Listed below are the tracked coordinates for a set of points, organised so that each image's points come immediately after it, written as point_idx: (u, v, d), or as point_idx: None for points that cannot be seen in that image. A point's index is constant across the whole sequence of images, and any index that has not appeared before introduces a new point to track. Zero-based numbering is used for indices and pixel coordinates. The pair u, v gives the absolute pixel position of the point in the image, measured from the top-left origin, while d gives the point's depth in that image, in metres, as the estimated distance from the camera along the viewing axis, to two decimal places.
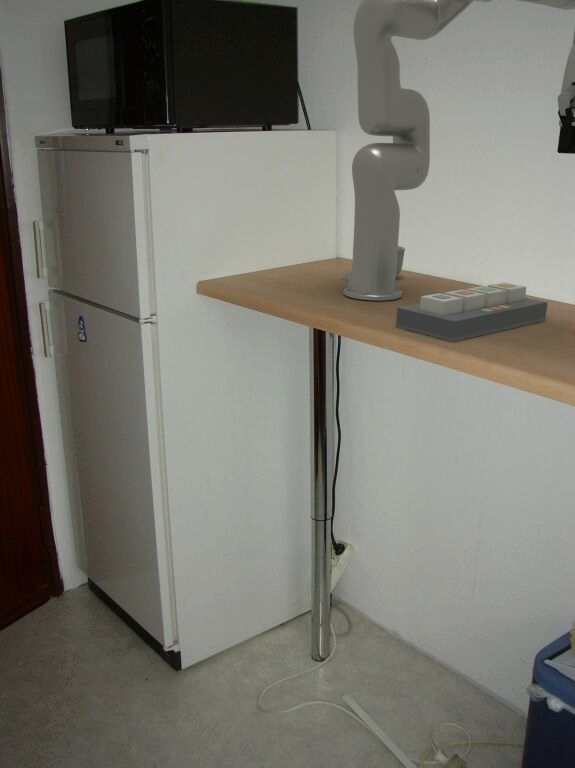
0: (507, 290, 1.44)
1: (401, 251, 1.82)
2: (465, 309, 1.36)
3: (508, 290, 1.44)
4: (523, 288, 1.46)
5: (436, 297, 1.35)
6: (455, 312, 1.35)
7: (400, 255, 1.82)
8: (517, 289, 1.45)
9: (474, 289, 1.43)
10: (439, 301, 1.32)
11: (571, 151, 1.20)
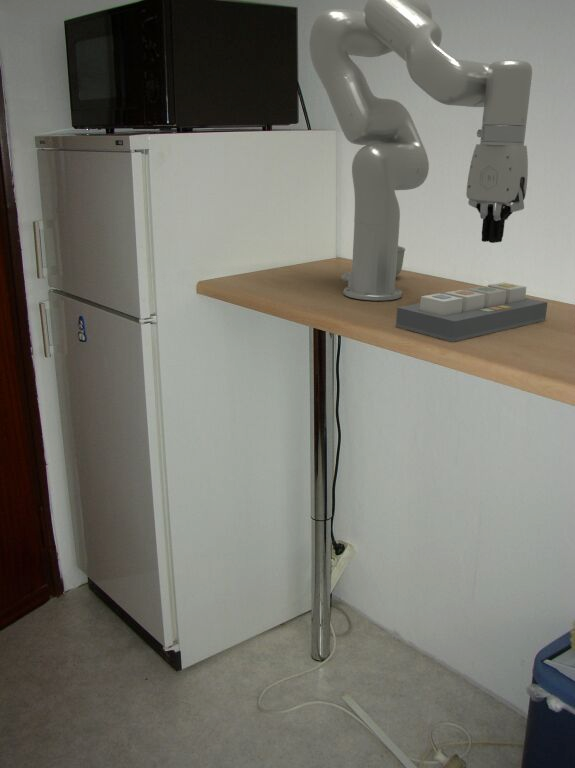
0: (507, 290, 1.44)
1: (401, 251, 1.82)
2: (465, 309, 1.36)
3: (508, 290, 1.44)
4: (523, 288, 1.46)
5: (436, 297, 1.35)
6: (455, 312, 1.35)
7: (400, 255, 1.82)
8: (517, 289, 1.45)
9: (474, 289, 1.43)
10: (439, 301, 1.32)
11: (499, 240, 1.40)
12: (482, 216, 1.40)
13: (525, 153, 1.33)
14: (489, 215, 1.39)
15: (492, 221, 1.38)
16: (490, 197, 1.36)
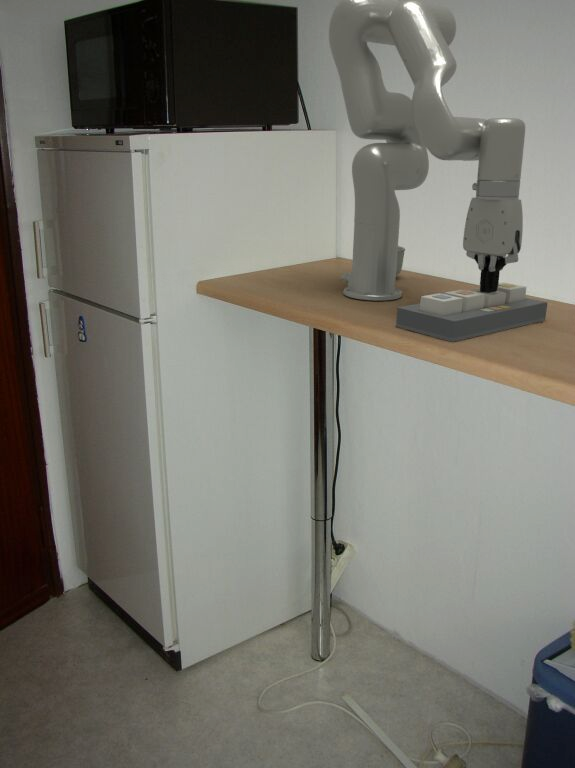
0: (507, 290, 1.44)
1: (401, 251, 1.82)
2: (465, 309, 1.36)
3: (508, 290, 1.44)
4: (523, 288, 1.46)
5: (436, 297, 1.35)
6: (455, 312, 1.35)
7: (400, 255, 1.82)
8: (517, 289, 1.45)
9: (474, 291, 1.43)
10: (439, 301, 1.32)
11: (494, 290, 1.43)
12: (480, 267, 1.42)
13: (520, 207, 1.35)
14: (487, 266, 1.42)
15: (487, 272, 1.40)
16: (486, 250, 1.38)
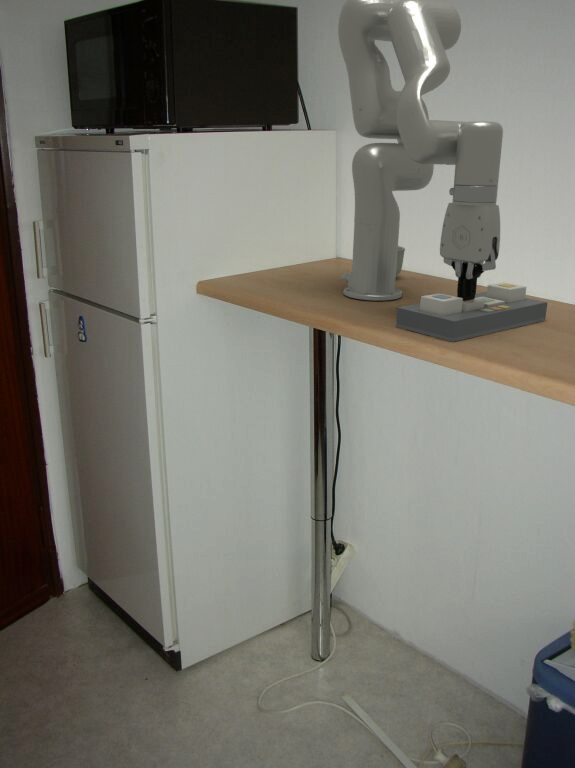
0: (507, 290, 1.44)
1: (401, 251, 1.82)
2: None
3: (508, 290, 1.44)
4: (523, 288, 1.46)
5: (436, 297, 1.35)
6: (455, 312, 1.35)
7: (400, 255, 1.82)
8: (517, 289, 1.45)
9: None
10: (439, 301, 1.32)
11: (472, 297, 1.39)
12: (457, 274, 1.38)
13: (497, 213, 1.32)
14: (464, 273, 1.38)
15: (464, 279, 1.37)
16: (463, 256, 1.34)
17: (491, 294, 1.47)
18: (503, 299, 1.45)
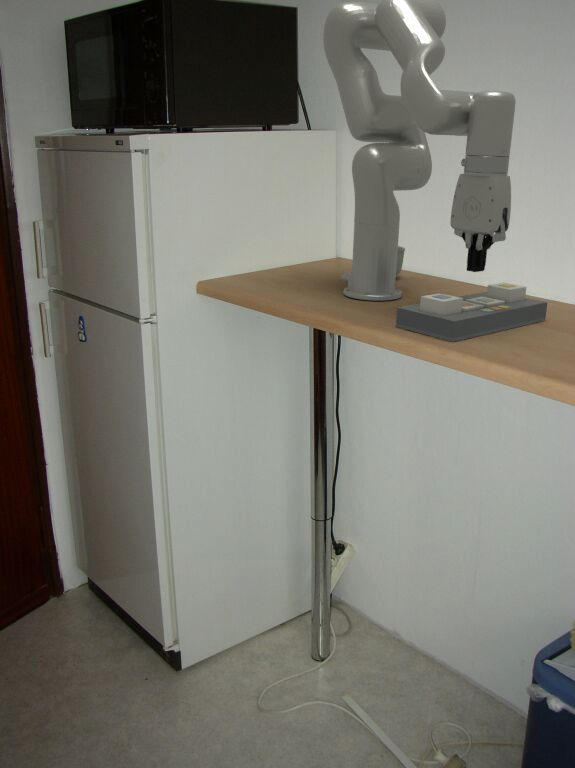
0: (507, 290, 1.44)
1: (401, 251, 1.82)
2: None
3: (508, 290, 1.44)
4: (523, 288, 1.46)
5: (436, 297, 1.35)
6: (455, 312, 1.35)
7: (400, 255, 1.82)
8: (517, 289, 1.45)
9: (473, 300, 1.44)
10: (439, 301, 1.32)
11: (482, 269, 1.39)
12: (467, 245, 1.39)
13: (508, 184, 1.32)
14: (474, 244, 1.38)
15: (474, 250, 1.37)
16: (473, 227, 1.35)
17: (491, 294, 1.47)
18: (503, 299, 1.45)
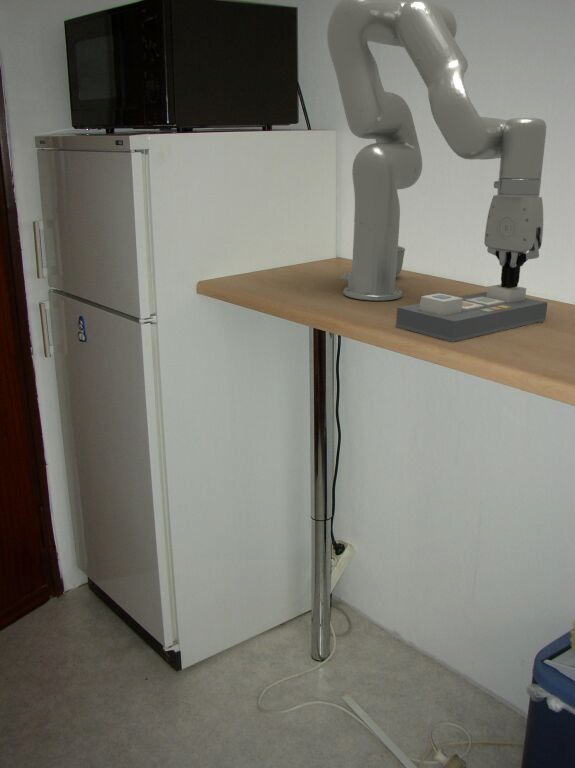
0: (507, 291, 1.44)
1: (401, 251, 1.82)
2: None
3: (508, 291, 1.44)
4: (523, 289, 1.46)
5: (436, 297, 1.35)
6: (455, 312, 1.35)
7: (400, 255, 1.82)
8: (517, 290, 1.45)
9: (473, 300, 1.44)
10: (439, 301, 1.32)
11: (515, 285, 1.47)
12: (501, 263, 1.46)
13: (541, 205, 1.39)
14: (508, 262, 1.46)
15: (508, 268, 1.44)
16: (508, 246, 1.42)
17: (491, 296, 1.47)
18: (503, 300, 1.45)
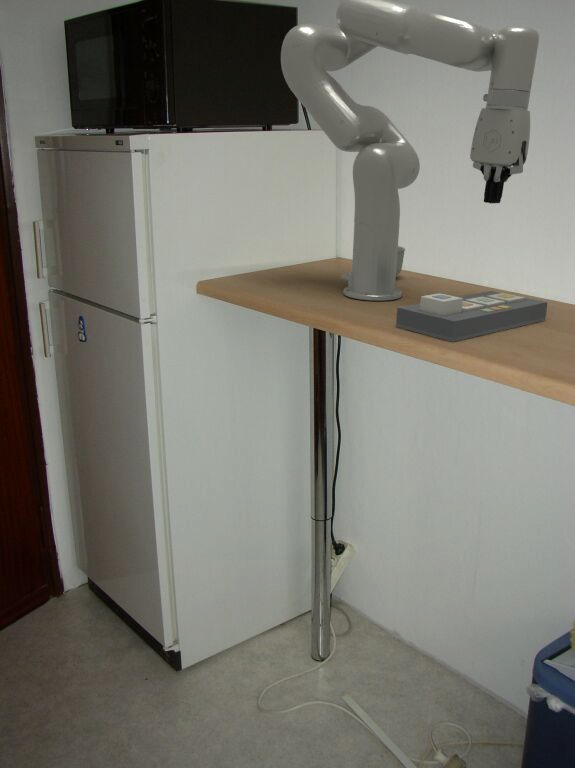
0: (506, 301, 1.45)
1: (401, 251, 1.82)
2: None
3: (507, 301, 1.45)
4: (522, 299, 1.47)
5: (436, 297, 1.35)
6: (455, 312, 1.35)
7: (400, 255, 1.82)
8: (516, 300, 1.46)
9: (473, 300, 1.44)
10: (439, 301, 1.32)
11: (498, 201, 1.47)
12: (485, 178, 1.46)
13: (528, 118, 1.39)
14: (492, 177, 1.45)
15: (492, 182, 1.44)
16: (492, 159, 1.42)
17: None
18: None
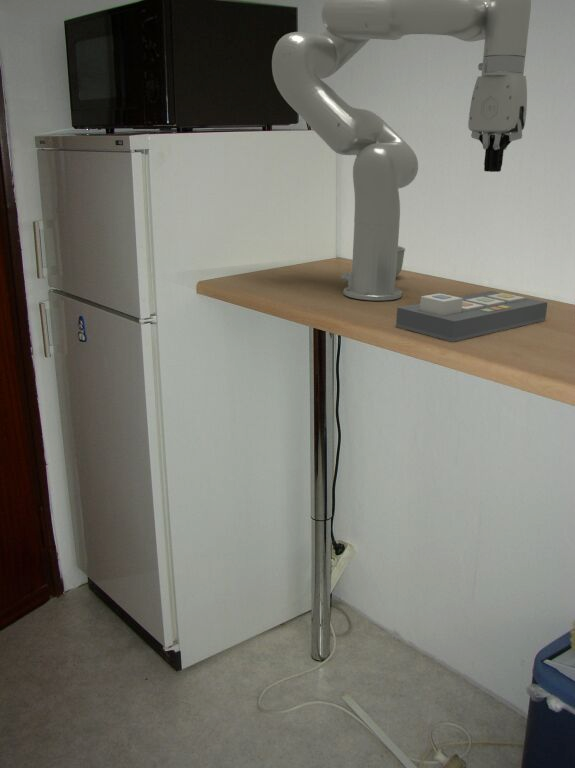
0: (506, 301, 1.45)
1: (401, 251, 1.82)
2: None
3: (507, 301, 1.45)
4: (522, 299, 1.47)
5: (436, 297, 1.35)
6: (455, 312, 1.35)
7: (400, 255, 1.82)
8: (516, 300, 1.46)
9: (473, 300, 1.44)
10: (439, 301, 1.32)
11: (498, 169, 1.46)
12: (484, 146, 1.45)
13: (524, 83, 1.39)
14: (491, 145, 1.45)
15: (491, 150, 1.44)
16: (491, 127, 1.42)
17: None
18: None
